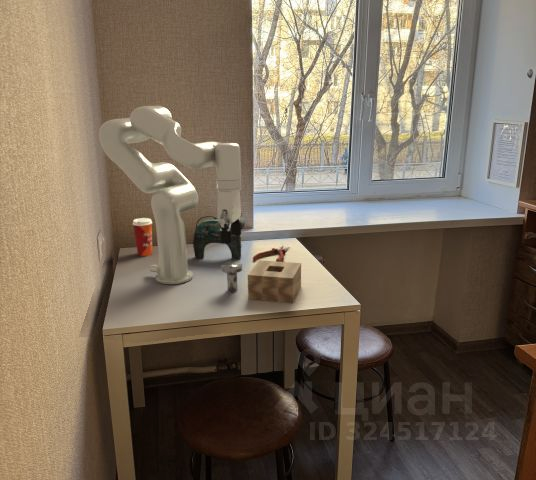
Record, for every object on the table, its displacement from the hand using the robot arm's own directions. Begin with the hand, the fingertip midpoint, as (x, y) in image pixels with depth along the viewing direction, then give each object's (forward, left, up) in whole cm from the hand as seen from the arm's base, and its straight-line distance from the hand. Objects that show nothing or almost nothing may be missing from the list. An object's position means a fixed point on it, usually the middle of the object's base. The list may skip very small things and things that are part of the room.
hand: (231, 238), depth 154 cm
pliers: (+7, +36, -18) cm, 41 cm away
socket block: (+14, +1, -17) cm, 22 cm away
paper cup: (-46, +29, -18) cm, 57 cm away
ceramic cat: (-15, +30, -18) cm, 38 cm away
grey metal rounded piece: (0, 0, -17) cm, 17 cm away
